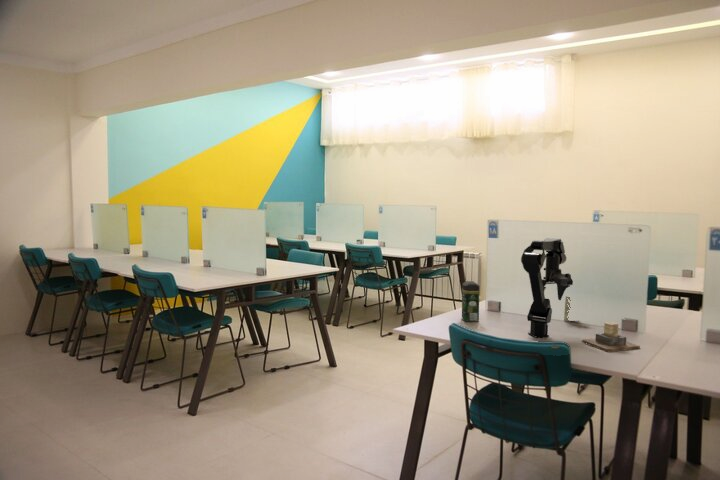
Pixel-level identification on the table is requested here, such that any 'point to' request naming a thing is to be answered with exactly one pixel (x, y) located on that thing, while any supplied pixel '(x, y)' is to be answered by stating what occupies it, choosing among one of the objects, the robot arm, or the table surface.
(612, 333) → the maple peg
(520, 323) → the table surface
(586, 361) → the table surface
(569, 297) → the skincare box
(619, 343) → the collar stand
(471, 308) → the coffee jar
